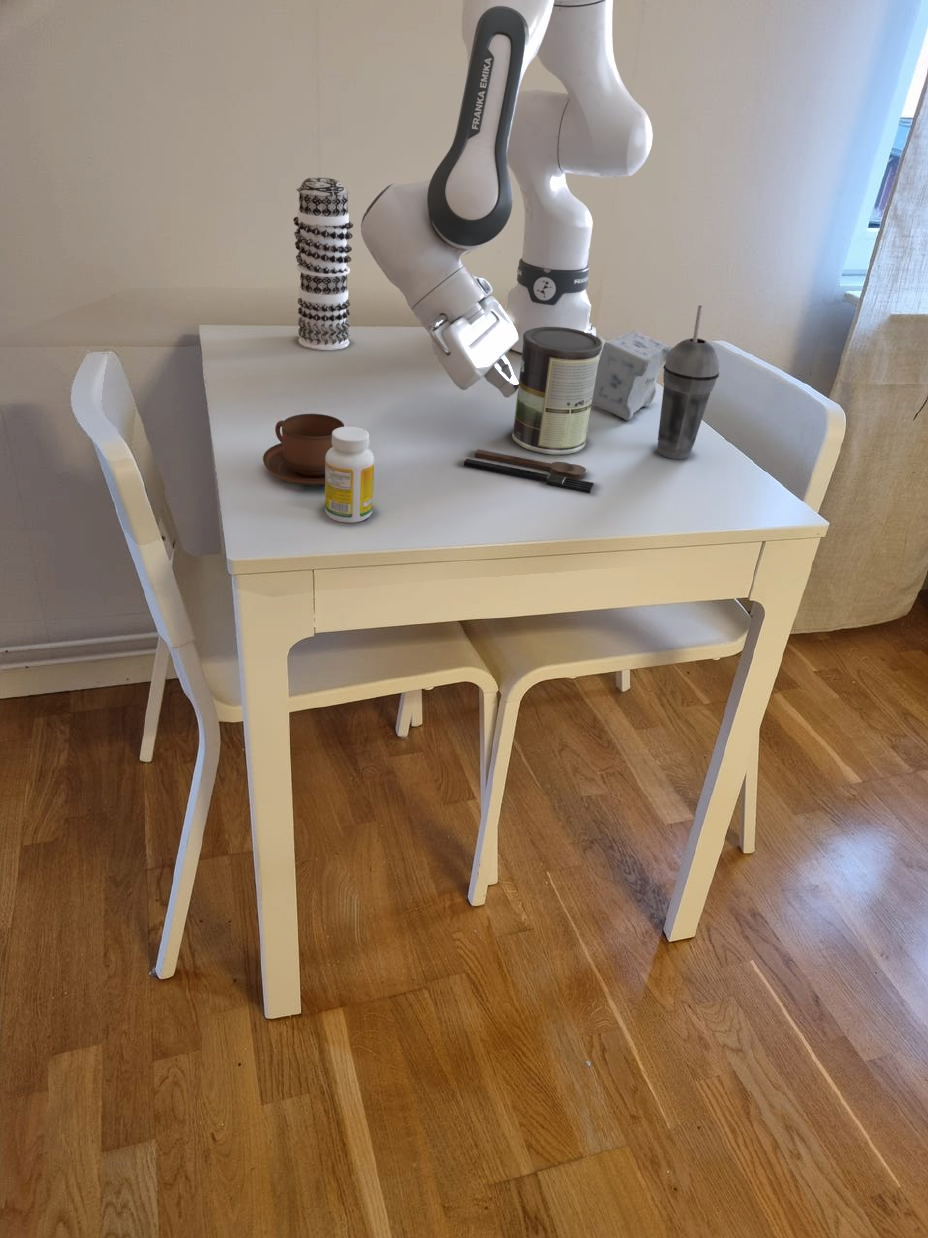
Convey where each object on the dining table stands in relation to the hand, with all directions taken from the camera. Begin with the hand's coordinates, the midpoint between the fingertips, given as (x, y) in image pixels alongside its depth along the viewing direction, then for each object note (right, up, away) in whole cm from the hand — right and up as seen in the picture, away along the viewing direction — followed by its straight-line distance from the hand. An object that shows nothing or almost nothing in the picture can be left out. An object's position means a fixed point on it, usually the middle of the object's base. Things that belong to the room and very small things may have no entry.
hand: (513, 392), depth 126 cm
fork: (+1, -13, -8) cm, 15 cm away
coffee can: (+5, -6, +2) cm, 8 cm away
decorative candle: (-30, +16, +31) cm, 46 cm away
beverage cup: (+22, -8, +2) cm, 24 cm away
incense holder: (+18, +1, +15) cm, 23 cm away
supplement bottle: (-20, -19, -20) cm, 34 cm away
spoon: (+2, -11, -5) cm, 12 cm away
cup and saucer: (-25, -13, -12) cm, 31 cm away
